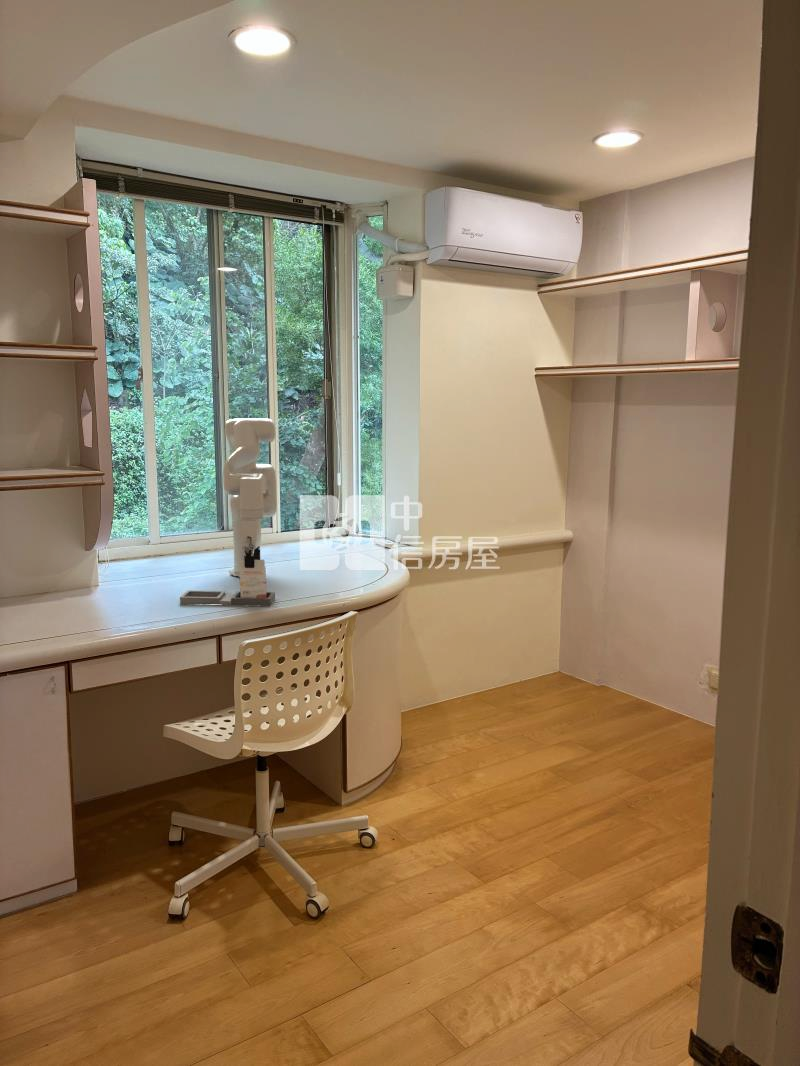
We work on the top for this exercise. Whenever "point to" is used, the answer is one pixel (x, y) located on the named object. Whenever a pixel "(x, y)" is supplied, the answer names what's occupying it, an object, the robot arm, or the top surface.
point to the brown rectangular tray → (201, 597)
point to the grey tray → (247, 599)
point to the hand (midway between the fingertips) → (252, 564)
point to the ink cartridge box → (253, 580)
